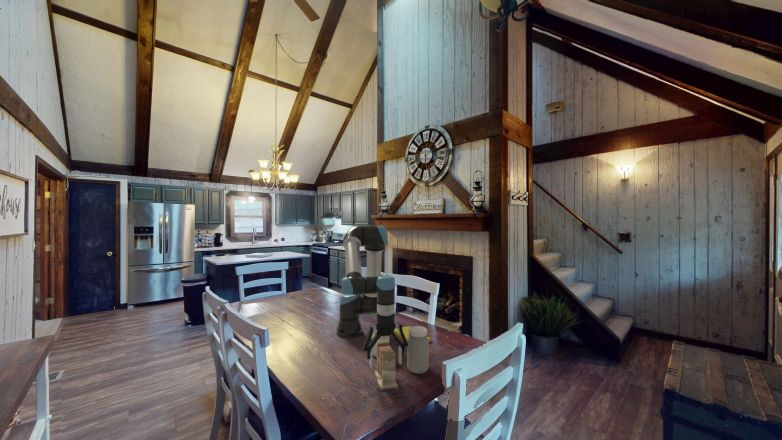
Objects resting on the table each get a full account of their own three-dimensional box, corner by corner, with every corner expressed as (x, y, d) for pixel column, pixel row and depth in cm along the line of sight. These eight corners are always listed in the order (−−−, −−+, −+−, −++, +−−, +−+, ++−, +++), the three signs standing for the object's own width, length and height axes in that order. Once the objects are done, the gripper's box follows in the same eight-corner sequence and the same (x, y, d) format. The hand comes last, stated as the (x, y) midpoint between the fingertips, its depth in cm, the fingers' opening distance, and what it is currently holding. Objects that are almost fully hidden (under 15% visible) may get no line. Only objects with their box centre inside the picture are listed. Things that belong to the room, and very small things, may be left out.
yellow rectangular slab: (431, 342, 160) (407, 328, 181) (431, 338, 160) (407, 324, 181) (413, 347, 154) (390, 332, 175) (413, 343, 154) (390, 328, 175)
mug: (387, 359, 140) (387, 336, 140) (369, 358, 141) (369, 335, 141) (391, 348, 152) (391, 327, 152) (374, 347, 153) (375, 326, 153)
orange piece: (380, 373, 120) (380, 351, 120) (378, 368, 124) (378, 347, 124) (392, 371, 121) (392, 349, 121) (390, 366, 125) (390, 345, 125)
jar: (412, 361, 138) (413, 323, 138) (432, 367, 133) (432, 327, 133) (403, 371, 129) (403, 330, 129) (423, 377, 124) (423, 335, 124)
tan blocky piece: (374, 371, 128) (374, 340, 128) (389, 370, 130) (389, 339, 130) (380, 390, 115) (380, 355, 115) (397, 387, 116) (398, 353, 116)
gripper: (358, 318, 116) (358, 372, 116) (415, 314, 121) (415, 365, 122) (356, 312, 123) (355, 363, 123) (410, 308, 129) (410, 357, 129)
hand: (385, 364), depth 122 cm, fingers open, 12 cm apart
